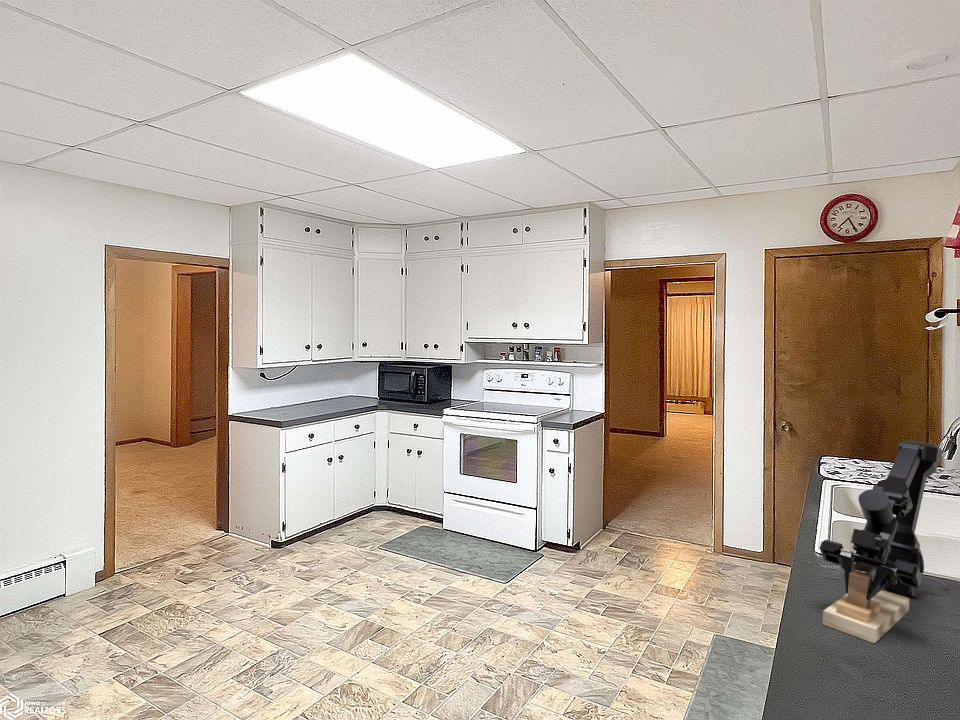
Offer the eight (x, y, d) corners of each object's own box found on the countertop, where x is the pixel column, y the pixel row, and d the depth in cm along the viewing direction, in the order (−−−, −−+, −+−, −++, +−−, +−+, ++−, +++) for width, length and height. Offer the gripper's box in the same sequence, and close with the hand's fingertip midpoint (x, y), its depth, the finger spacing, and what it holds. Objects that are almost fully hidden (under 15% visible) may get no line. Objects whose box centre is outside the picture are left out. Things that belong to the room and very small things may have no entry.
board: (860, 595, 148) (861, 583, 148) (908, 610, 141) (909, 598, 141) (822, 624, 133) (823, 610, 133) (874, 643, 125) (875, 629, 125)
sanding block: (849, 602, 137) (852, 565, 137) (879, 612, 133) (882, 574, 132) (836, 612, 132) (838, 574, 132) (867, 623, 128) (870, 583, 127)
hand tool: (868, 576, 161) (870, 559, 161) (851, 571, 164) (853, 554, 164) (889, 560, 174) (890, 544, 174) (873, 555, 177) (874, 540, 177)
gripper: (825, 504, 141) (802, 562, 134) (922, 527, 127) (902, 592, 120) (835, 531, 146) (814, 587, 140) (929, 555, 132) (910, 619, 126)
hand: (857, 595), depth 131 cm, fingers closed on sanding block, 4 cm apart
